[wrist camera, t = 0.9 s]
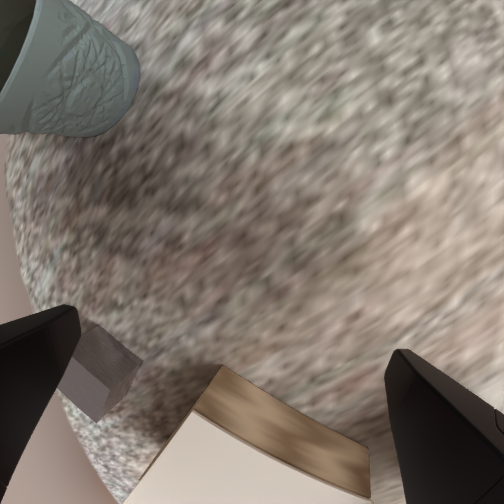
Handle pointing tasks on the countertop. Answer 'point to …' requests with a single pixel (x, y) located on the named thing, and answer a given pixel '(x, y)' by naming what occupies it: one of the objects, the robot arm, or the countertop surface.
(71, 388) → the block
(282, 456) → the box
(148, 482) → the lid
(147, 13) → the countertop surface
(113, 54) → the gray green planter pot
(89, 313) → the countertop surface
